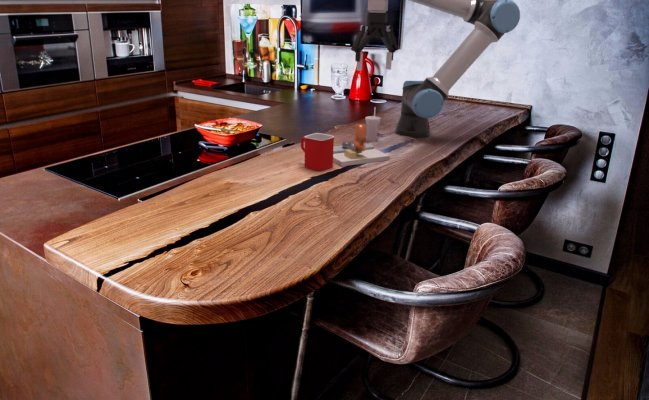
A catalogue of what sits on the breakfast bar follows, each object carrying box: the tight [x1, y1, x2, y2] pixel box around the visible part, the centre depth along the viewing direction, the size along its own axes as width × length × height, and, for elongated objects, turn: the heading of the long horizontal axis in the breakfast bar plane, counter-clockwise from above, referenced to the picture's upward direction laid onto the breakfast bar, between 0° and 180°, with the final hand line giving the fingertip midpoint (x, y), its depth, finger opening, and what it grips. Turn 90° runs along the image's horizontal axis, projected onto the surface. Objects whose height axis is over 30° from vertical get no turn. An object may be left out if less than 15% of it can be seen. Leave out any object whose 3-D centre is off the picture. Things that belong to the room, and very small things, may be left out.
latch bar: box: [341, 123, 367, 153], centre depth 178 cm, size 13×4×10 cm, turn 29°
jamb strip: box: [333, 142, 375, 154], centre depth 185 cm, size 20×6×2 cm, turn 118°
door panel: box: [333, 148, 391, 167], centre depth 178 cm, size 20×10×4 cm, turn 118°
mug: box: [300, 132, 335, 172], centre depth 168 cm, size 12×8×11 cm
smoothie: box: [365, 106, 382, 143], centre depth 202 cm, size 6×6×14 cm
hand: (373, 69), depth 193 cm, fingers open, 13 cm apart
